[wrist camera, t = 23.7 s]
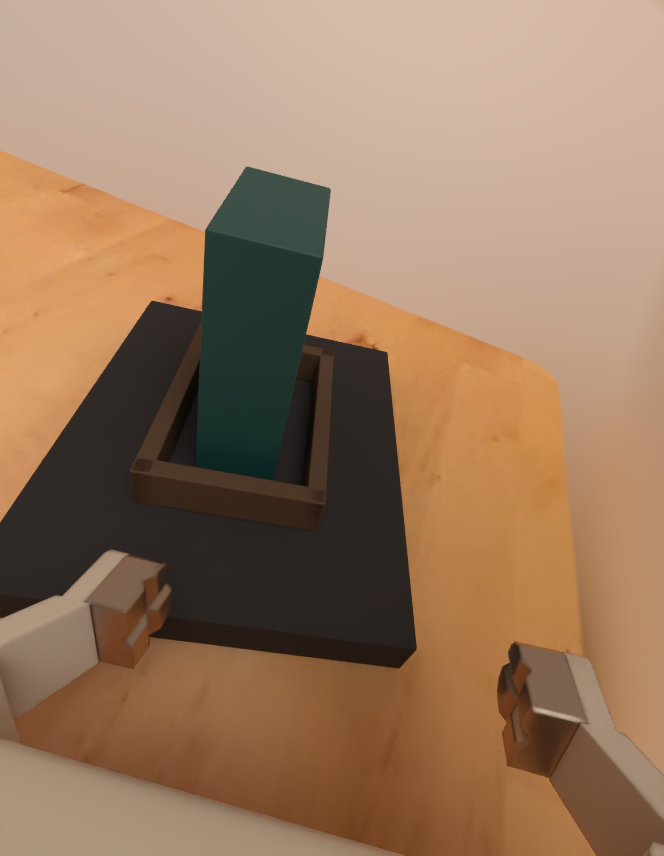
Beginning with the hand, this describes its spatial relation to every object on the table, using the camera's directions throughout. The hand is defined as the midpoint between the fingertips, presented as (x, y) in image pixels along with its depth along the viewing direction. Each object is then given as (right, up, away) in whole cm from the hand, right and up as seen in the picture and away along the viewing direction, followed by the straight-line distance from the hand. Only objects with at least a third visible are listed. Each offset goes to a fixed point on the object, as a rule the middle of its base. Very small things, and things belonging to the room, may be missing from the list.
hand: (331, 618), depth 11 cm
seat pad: (-5, +3, +14) cm, 15 cm away
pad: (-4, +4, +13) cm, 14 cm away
